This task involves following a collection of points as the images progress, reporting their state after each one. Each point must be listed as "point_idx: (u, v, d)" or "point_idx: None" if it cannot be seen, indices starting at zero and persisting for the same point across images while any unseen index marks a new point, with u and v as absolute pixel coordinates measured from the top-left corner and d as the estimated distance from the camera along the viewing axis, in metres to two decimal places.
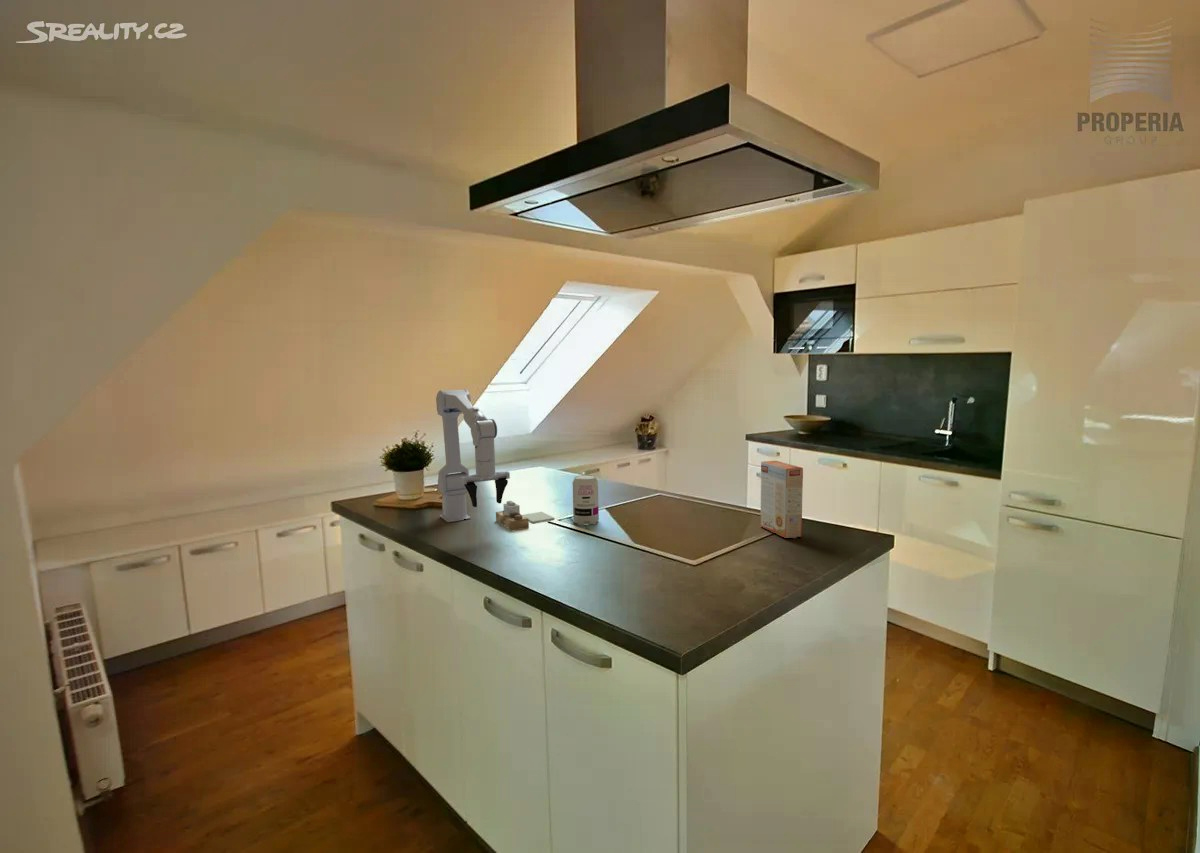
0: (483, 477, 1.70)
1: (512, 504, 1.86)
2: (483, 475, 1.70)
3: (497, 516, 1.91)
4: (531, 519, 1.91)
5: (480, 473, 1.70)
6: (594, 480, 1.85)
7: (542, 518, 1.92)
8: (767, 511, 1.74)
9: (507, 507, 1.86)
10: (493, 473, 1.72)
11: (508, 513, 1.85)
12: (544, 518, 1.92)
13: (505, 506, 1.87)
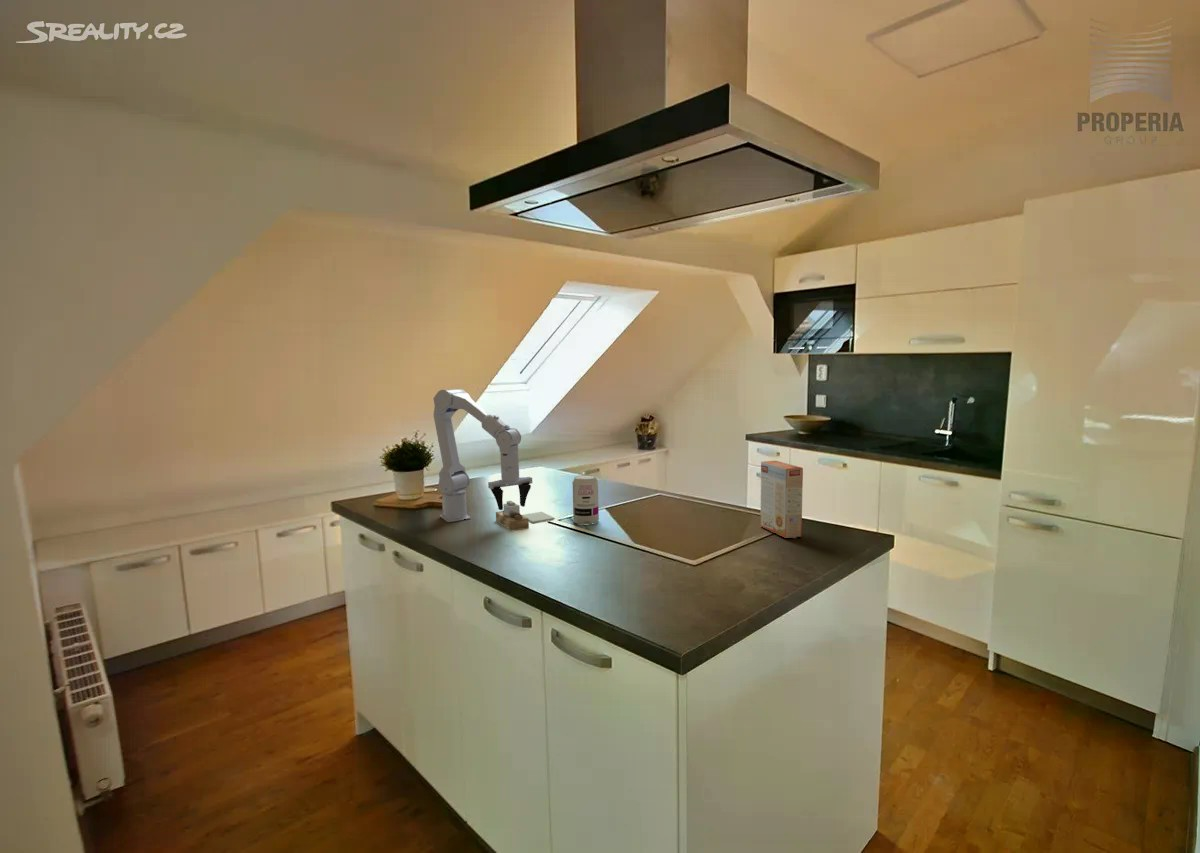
0: (508, 482, 1.84)
1: (512, 504, 1.86)
2: (508, 480, 1.84)
3: (497, 516, 1.91)
4: (531, 519, 1.91)
5: (506, 479, 1.84)
6: (594, 480, 1.85)
7: (542, 518, 1.92)
8: (767, 511, 1.74)
9: (507, 507, 1.86)
10: (517, 478, 1.86)
11: (508, 513, 1.85)
12: (544, 518, 1.92)
13: (505, 506, 1.87)
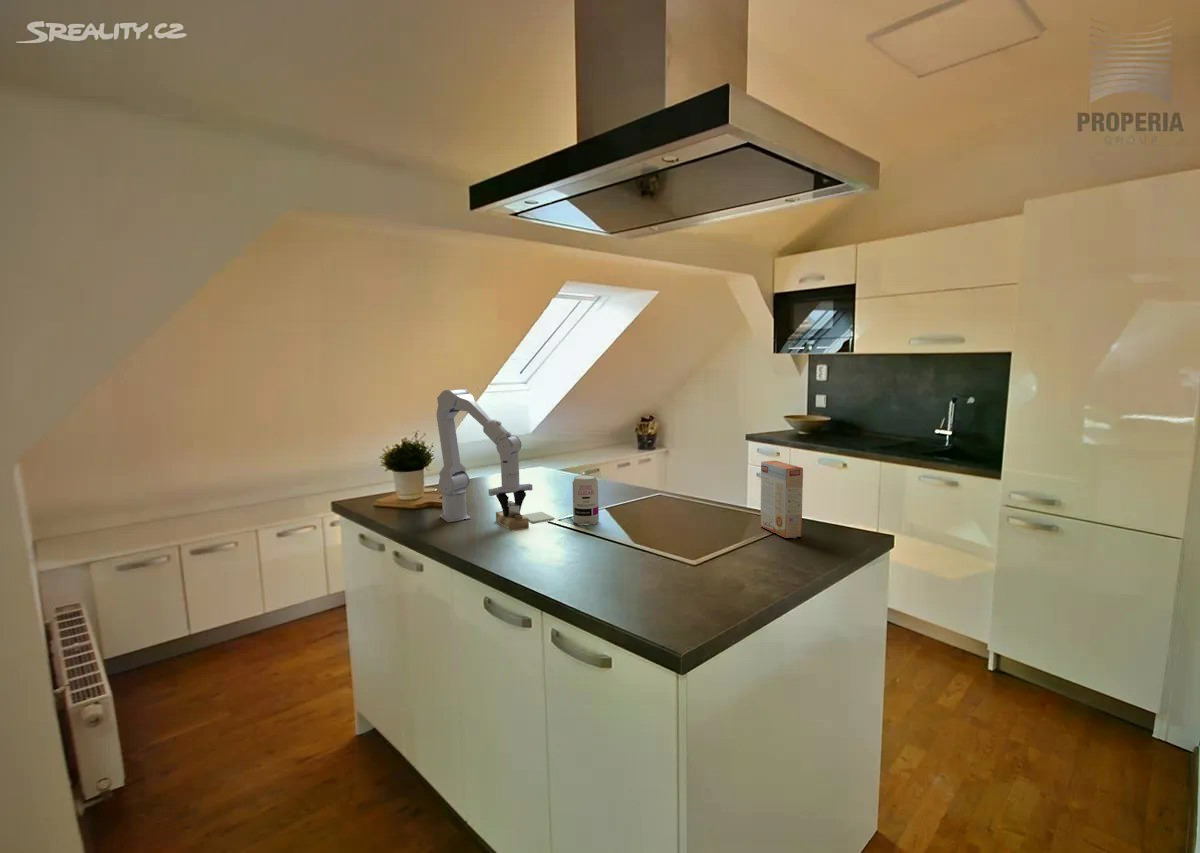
0: (509, 489, 1.84)
1: (512, 504, 1.86)
2: (509, 487, 1.84)
3: (497, 516, 1.91)
4: (531, 519, 1.91)
5: (506, 486, 1.84)
6: (594, 480, 1.85)
7: (542, 518, 1.92)
8: (767, 511, 1.74)
9: None
10: (518, 485, 1.86)
11: (508, 513, 1.85)
12: (544, 518, 1.92)
13: None
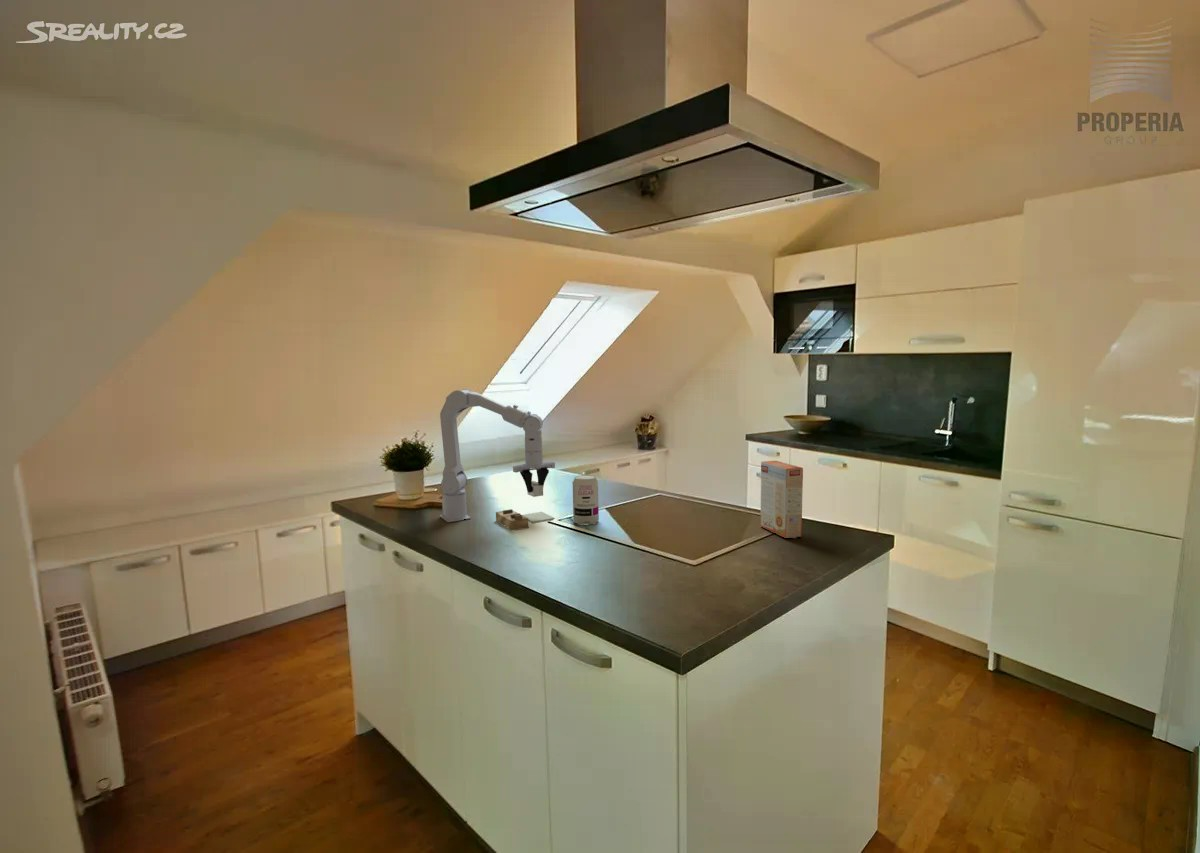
0: (533, 466, 1.90)
1: (536, 484, 1.92)
2: (532, 464, 1.90)
3: (497, 516, 1.91)
4: (531, 519, 1.91)
5: (530, 463, 1.90)
6: (594, 480, 1.85)
7: (542, 518, 1.92)
8: (767, 511, 1.74)
9: None
10: (541, 463, 1.92)
11: (532, 492, 1.91)
12: (544, 518, 1.92)
13: None
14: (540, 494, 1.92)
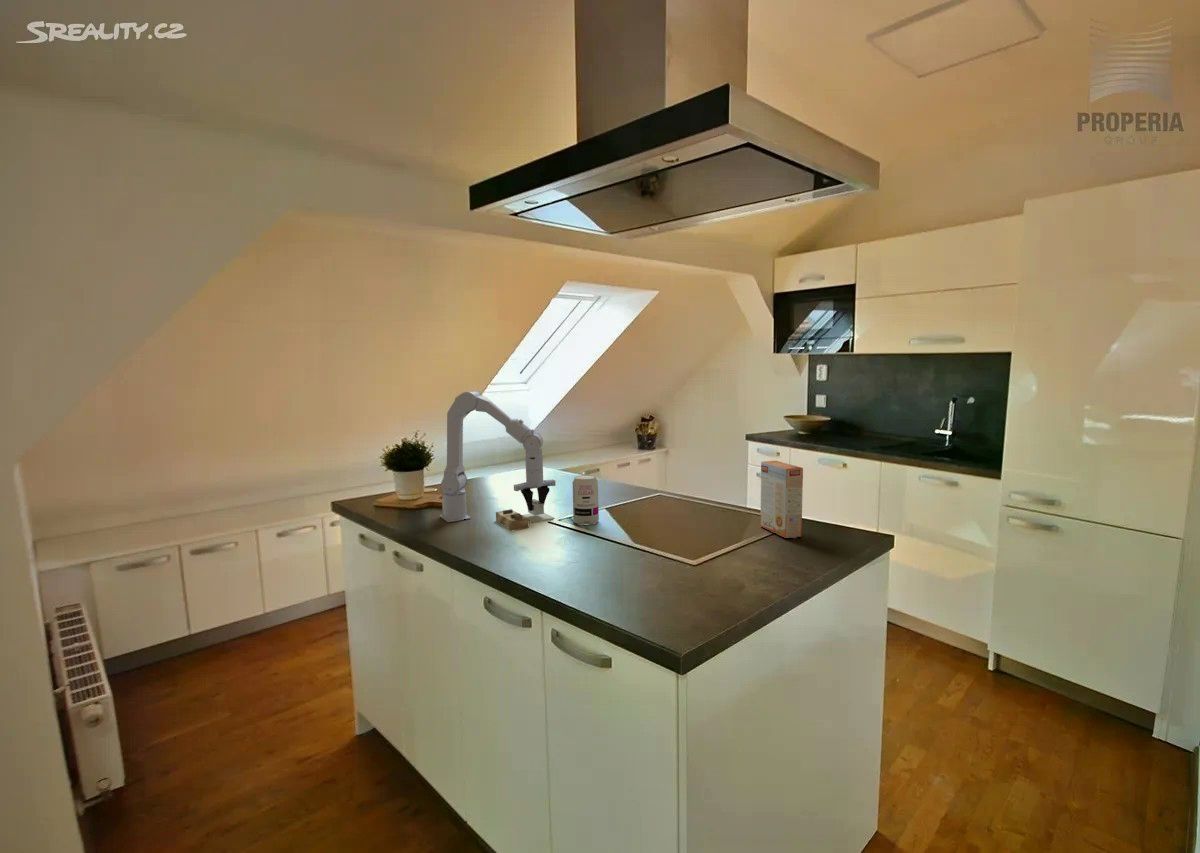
0: (533, 485, 1.91)
1: (536, 502, 1.93)
2: (533, 483, 1.91)
3: (497, 516, 1.91)
4: (531, 519, 1.91)
5: (531, 481, 1.91)
6: (594, 480, 1.85)
7: (542, 518, 1.92)
8: (767, 511, 1.74)
9: (532, 505, 1.93)
10: (542, 481, 1.92)
11: (533, 510, 1.92)
12: (544, 518, 1.92)
13: None
14: (541, 512, 1.93)
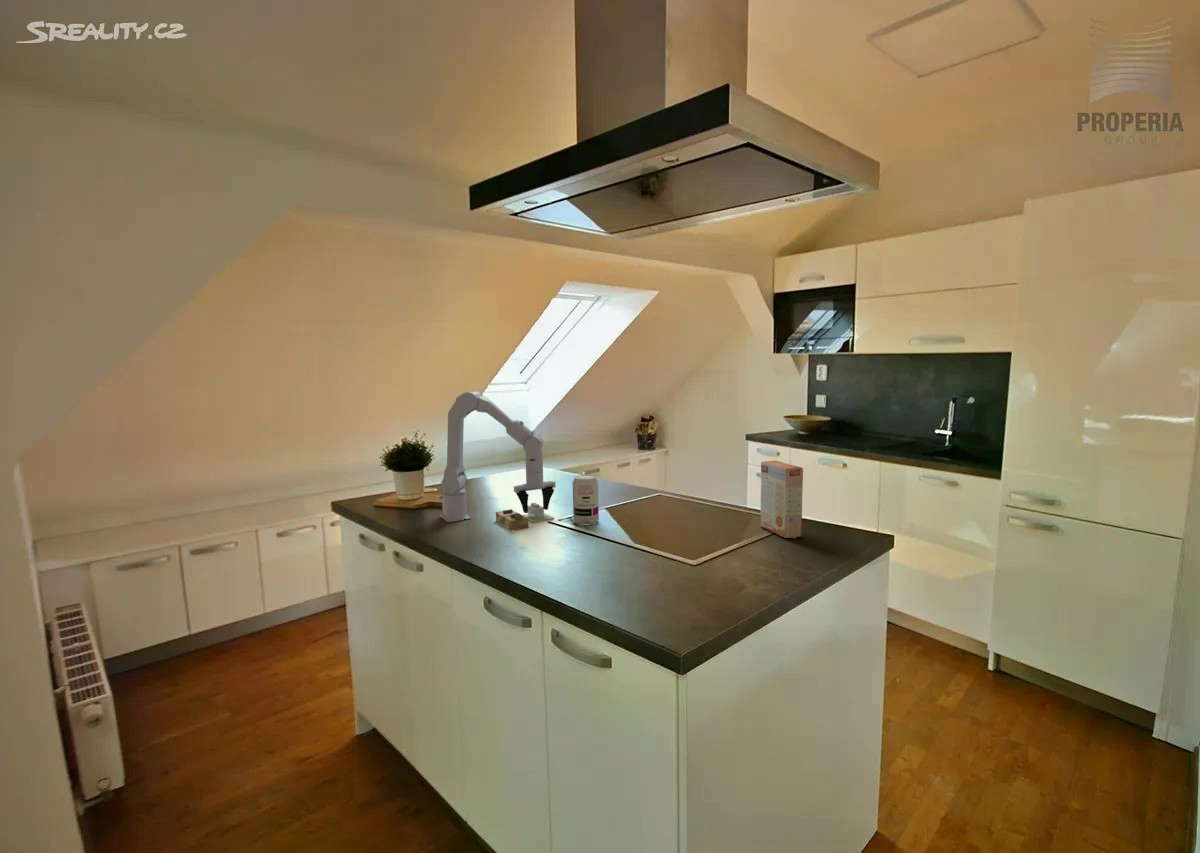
0: (533, 486, 1.91)
1: (536, 506, 1.93)
2: (533, 484, 1.91)
3: (497, 516, 1.91)
4: (531, 519, 1.91)
5: (531, 483, 1.91)
6: (594, 480, 1.85)
7: (542, 518, 1.92)
8: (767, 511, 1.74)
9: (532, 509, 1.93)
10: (542, 483, 1.92)
11: (533, 514, 1.92)
12: (544, 518, 1.92)
13: (530, 508, 1.94)
14: (541, 516, 1.93)
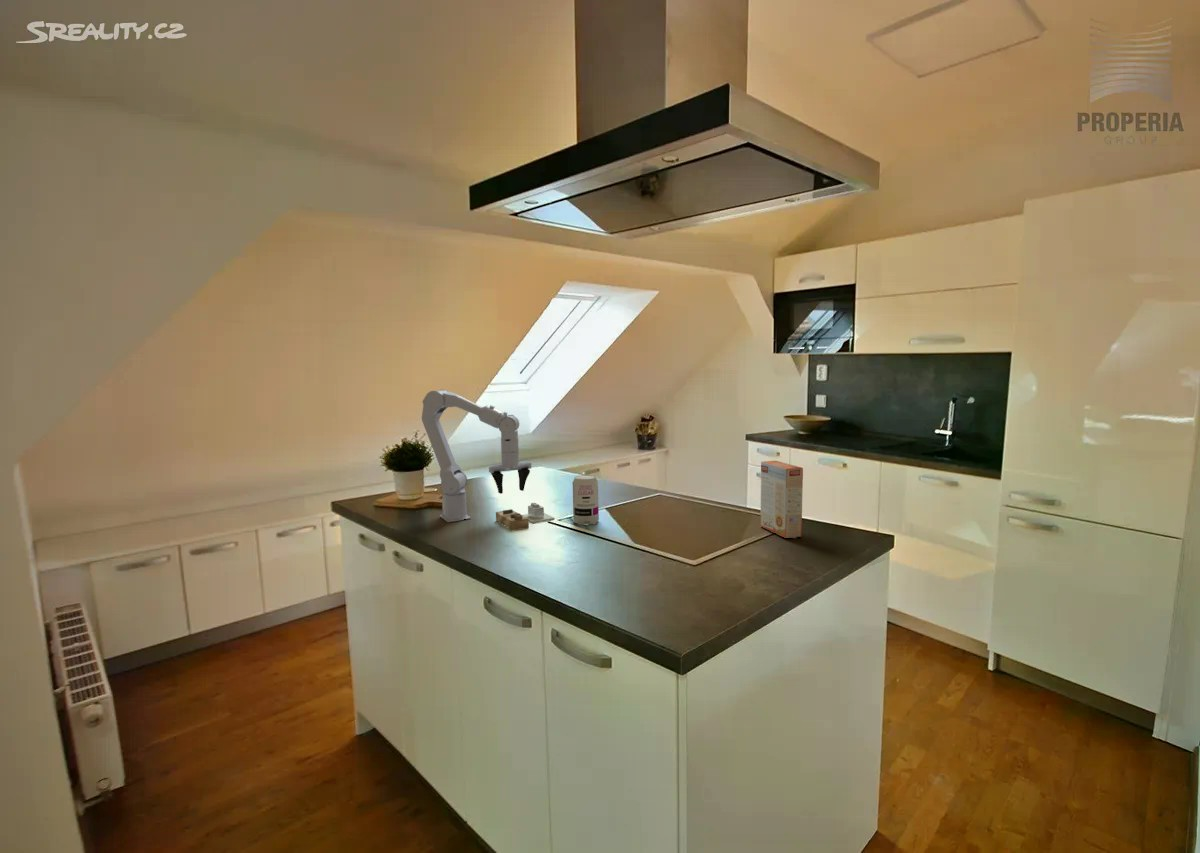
0: (508, 467, 1.91)
1: (536, 506, 1.93)
2: (508, 465, 1.91)
3: (497, 516, 1.91)
4: (531, 519, 1.91)
5: (506, 463, 1.91)
6: (594, 480, 1.85)
7: (542, 518, 1.92)
8: (767, 511, 1.74)
9: (532, 509, 1.93)
10: (517, 463, 1.92)
11: (533, 514, 1.92)
12: (544, 518, 1.92)
13: (530, 508, 1.94)
14: (541, 516, 1.93)
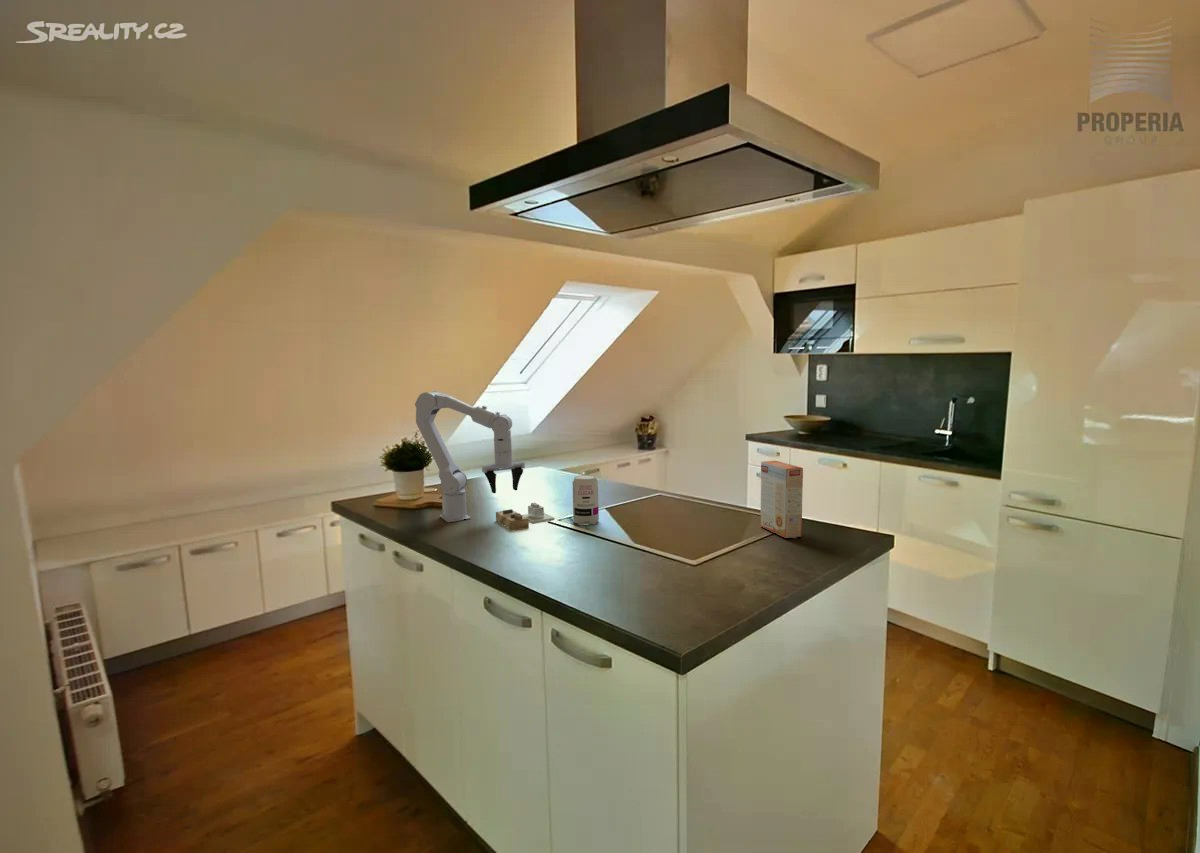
0: (501, 466, 1.91)
1: (536, 506, 1.93)
2: (501, 464, 1.91)
3: (497, 516, 1.91)
4: (531, 519, 1.91)
5: (499, 463, 1.91)
6: (594, 480, 1.85)
7: (542, 518, 1.92)
8: (767, 511, 1.74)
9: (532, 509, 1.93)
10: (510, 463, 1.92)
11: (533, 514, 1.92)
12: (544, 518, 1.92)
13: (530, 508, 1.94)
14: (541, 516, 1.93)
